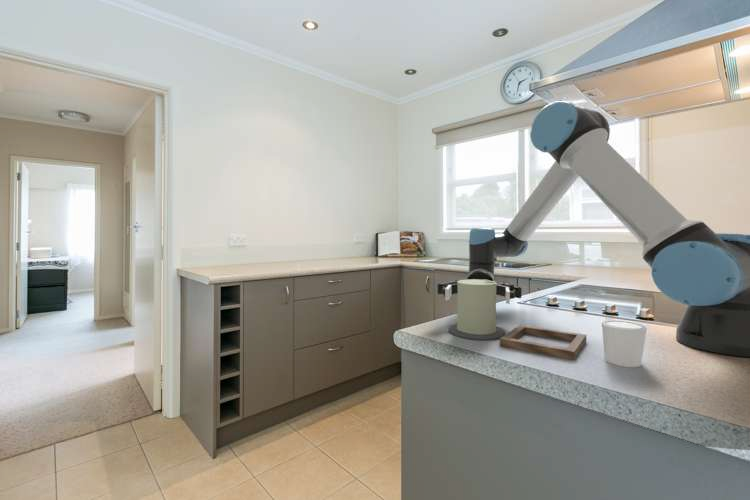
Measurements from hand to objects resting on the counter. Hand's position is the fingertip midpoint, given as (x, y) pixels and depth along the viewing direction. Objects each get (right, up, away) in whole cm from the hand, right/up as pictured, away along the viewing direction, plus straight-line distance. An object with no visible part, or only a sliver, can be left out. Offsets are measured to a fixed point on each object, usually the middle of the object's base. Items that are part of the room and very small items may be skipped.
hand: (476, 296), depth 85 cm
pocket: (+13, -10, -6) cm, 17 cm away
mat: (+1, -9, +4) cm, 10 cm away
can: (+1, -9, +4) cm, 10 cm away
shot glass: (+23, -10, -16) cm, 30 cm away
